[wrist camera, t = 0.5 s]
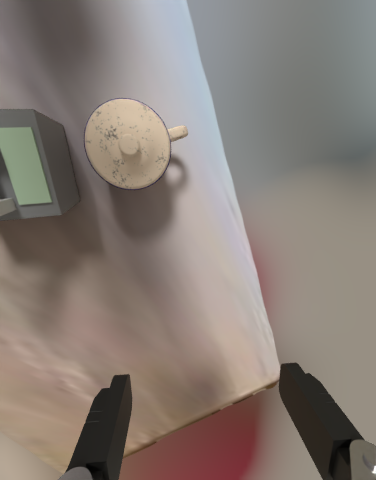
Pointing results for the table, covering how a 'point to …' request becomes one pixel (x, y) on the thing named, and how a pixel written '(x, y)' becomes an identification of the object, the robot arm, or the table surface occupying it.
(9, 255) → the table surface
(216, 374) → the table surface
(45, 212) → the breaker box
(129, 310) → the table surface
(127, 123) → the teacup with lid
